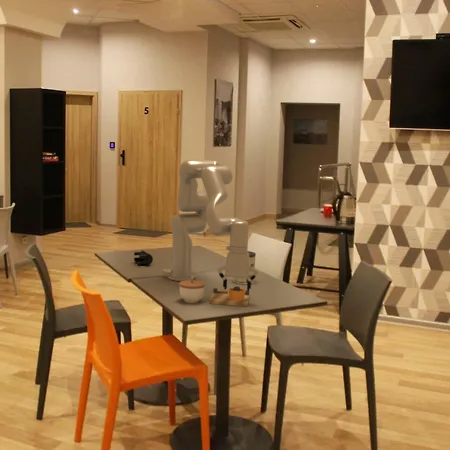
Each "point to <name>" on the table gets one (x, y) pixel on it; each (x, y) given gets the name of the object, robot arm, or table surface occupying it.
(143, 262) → the end cap
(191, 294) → the lidded jar
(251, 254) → the coffee can
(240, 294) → the orange short cylinder
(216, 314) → the table surface
